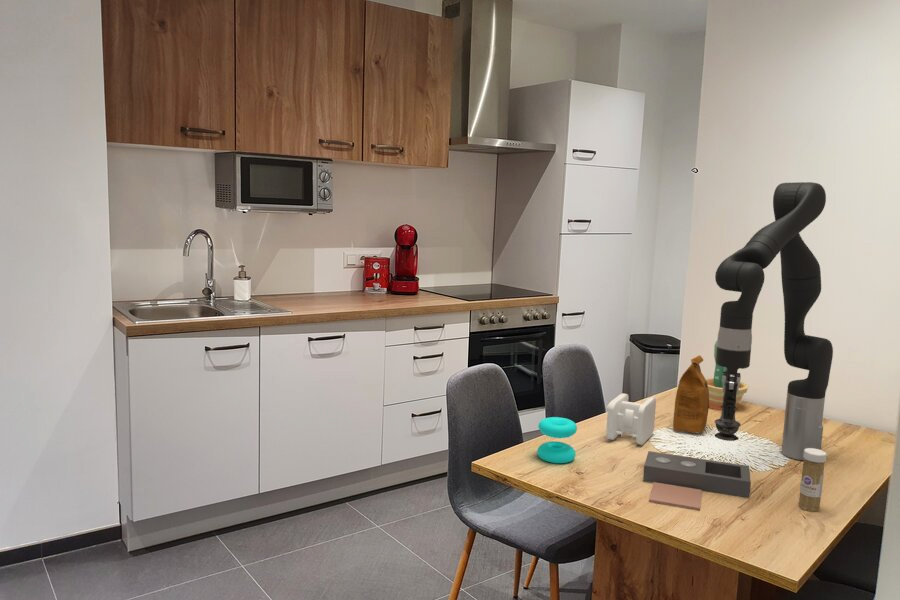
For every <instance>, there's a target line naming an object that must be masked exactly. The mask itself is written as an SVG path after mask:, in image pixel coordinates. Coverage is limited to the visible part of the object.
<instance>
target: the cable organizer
mask: <svg viewBox="0 0 900 600" xmlns="http://www.w3.org/2000/svg"><path fill="white" fill-rule="evenodd" d="M629 397H630V396H629V394H627V393H623V392H622V393H619V395H617V396H616V397H615V398H614V399H612V400H611V401H610V402H608V405H606V411H607V415H606V416H607V417H606V431H605V433H606V435H605V437H606V439H608V440H611V441H614V440H615V439H616V438H617V437H619V435H621V436H620V437H621V438H623V435H624V434H626V435H631V439H634V438H635V440H636V441H635V442H636V444H638V445H639V446H643V445H644V444H645V443H646V442H647V441H648V440H649V438H651V436H652V435H653V433H654V430H655V424H656V423H655V421H656V419H655V418H656V408H657V407H656V406H657V405H656V404H657V400H656V399H657V398H656V397H648V398H647V399H646V400H645V401H644V402H643V403H638V402H631V401H629Z"/></svg>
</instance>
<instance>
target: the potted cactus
mask: <svg viewBox="0 0 900 600" xmlns="http://www.w3.org/2000/svg"><path fill="white" fill-rule="evenodd" d="M713 351H714V353H713V356H714V363H715V366H714V373H713V378H712V377H711V378H705V379H706V381H707V384H708V389H709V408H710V409H714V410H716V411H717V410H718V411H722V408H721V406H722V405H723V395H724V393H723V380H722V376H723V371H726V369H727V368H726V367H722V366H719V365H717V364H716V351H717V340H716V341H715V342H714V349H713ZM749 387H750V386H749V385H747V384H745V383H744V382H741V381H740V383H739V390H738V394H737V395H736V405H735V407H736V408H737V405H738V404H739V403H740V402H741V400H742V398H743V397H744V394H746V393H747V392H748V389H749Z"/></svg>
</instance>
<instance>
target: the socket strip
mask: <svg viewBox="0 0 900 600" xmlns="http://www.w3.org/2000/svg"><path fill="white" fill-rule="evenodd" d="M750 473H751V471H750V466H749V465H744V464H739V463H730V462H725V461H719V460H718V461H717V460H710V459H704V458H697V457H691V456H684V455H679V454H670V453H664V452H658V451H657V452H656V451H650V450H649V451H648V452H647V455H646V458H645V461H644V464H643V477H642V482H645V481H647V482H646V483H651V482H652V484H653V482H656V483H663V484H669V485H675V486H681V487H687V488H693V489H700V490H701V492H708V493H714V494H720V495H721V494H722V495H725V496H733V497H739V498H745V499H750V492H751V481H752V480H751V474H750Z"/></svg>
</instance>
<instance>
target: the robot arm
mask: <svg viewBox="0 0 900 600" xmlns="http://www.w3.org/2000/svg"><path fill="white" fill-rule="evenodd" d="M826 201H827V194H826V191H825V188H824V186H823V185H822V184H820V183H818V182H811V181H810V182H808V181H807V182H804V181H803V182H801V181H800V182H799V181H798V182H782V183H779V184H778V185H777V186H776V187H775V189H774V192H773V197H772V207H773V214H774V215H773V216H774V221H772V222H771V223H769V224H767V225H764V226H763V227H762V228H760V229H759V230H758V231H756V233H754V234H753V235H752V236H751V237H750V239H749V241H748V242H747V243H746V244H745V245H744V246H743V247H742V248H740V249H738V250H737V251H735V252H734V253H732V254H731V255H729V256H728V257H726V258H725V259H724V260H723V261H722V262H720V264H719V265H718V267H717V268H716V270H715V274H714V275H715V283H716V285H717V286H718V287H719V288H720V289H721V290H724V291H730V292H737V293H741V294H740V295H739V297H738V299H737V300H730V301H725V302H723V303H722V305H721V307H720V317H719V327H718V328H719V329H718V332H717V340H716V341H717V351H716V363H715V365H716V364H717V365H719V366H722V367H726V368H727V369H726V371H723V376H722V380H723V393H724V394H725V396H724V401H723V402H724V414H723V418H724V419H729V420H732V419H733V416H734V405H735V403H736V395H737V394H738V390H739V383H740V382H741V379H742V378H741V377H742V376H741V372H738V370H739V369H743V370H744V369H747V368H749V367H750V364H751V354H752V352H751V351H752V344H753V343H752V342H753V341H752V340H753V335H752V333H753V332H752V329H753V319H754V318H753V317H754V315H753V314H754V311H755V307H756V304H757V301H758V300H759V299H758V298H759V296H760V293H761V292H762V289H763V287H764V283H765V272H764V269H767V267H769V266H770V265H771V263H772V262H773V260H775V258H776V257H777V255H778V254H779V255H780V267H781V269H780V270H781V271H780V272H781V273H780V274H781V277H780V278H781V286H782V287H781V289H782V295H783V309H784V311H783V313H784V332H783V333H784V336H783V338H784V341H783V352H784V354H783V355H784V359H785V361H786V363H787V365H789V366H790V367H793V368H797V369H800V370H801V369H802V370H805V371H808V375H807V377H805V378H803V379H794V380H791V381H789V382H788V384H787V393H786V401H785V411H784V423H783V431H782V441H781V442H782V443H781V454H782V455H783V456H785V457H787V458H790V459H793V460H799V461H804V459H803V458H804V457H803V454H804V450H805V449H806V448H815V449H819V450H822V442H823V433H824V426H823V418H824V411H825V410H824V409H825V400H826V392H827V389H828V386H829V382H830V374H831V368H832V363H833V357H834V347H833V344H832V342H831V340H830V339H827V338H824V337H819V336H814V335H813V336H812V335H809V334H808V335H807V334H806V332H805V319H806V317H807V314H809V312H810V310H811V309H812V307H813V305H815V303H816V301H817V300H818V299H819V296H820V294H821V293H822V277H821V276H822V275H821V273H822V272H821V266H820V264H819V261H818V259H817V257H816V256H815V254H814V253H813V251H811V249H810V247H808V246H807V244H806V243H805V241H804V239H803V237H802V236H801V234H800V233H801V232H802V231H803V230H805V228H807V227H808V226H809V225H811V223H813V222H814V221H815V220H816V219H817V218H818V217H820V215H821V214H822V212H823V211H824V209H825V206H826ZM728 395H730V396H733V398H727V396H728Z"/></svg>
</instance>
